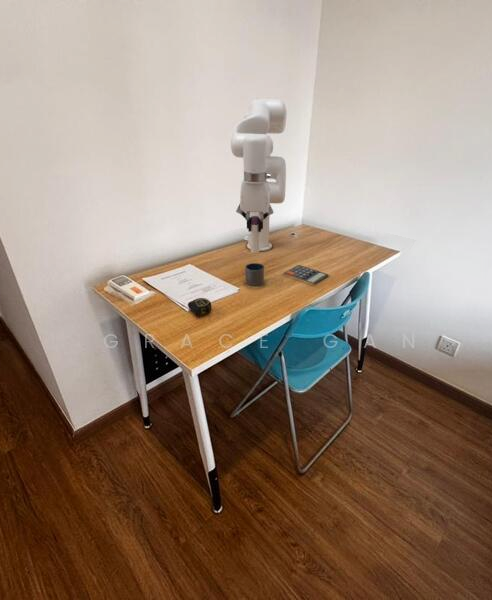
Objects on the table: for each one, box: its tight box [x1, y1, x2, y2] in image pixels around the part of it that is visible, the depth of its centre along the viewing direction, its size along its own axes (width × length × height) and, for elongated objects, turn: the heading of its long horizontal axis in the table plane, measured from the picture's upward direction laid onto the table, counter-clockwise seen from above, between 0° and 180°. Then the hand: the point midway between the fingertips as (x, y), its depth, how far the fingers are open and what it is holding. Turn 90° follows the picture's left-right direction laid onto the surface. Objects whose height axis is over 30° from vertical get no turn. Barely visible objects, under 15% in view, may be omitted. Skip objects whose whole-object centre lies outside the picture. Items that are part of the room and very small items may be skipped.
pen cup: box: [244, 262, 265, 288], centre depth 125 cm, size 7×7×8 cm
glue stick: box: [250, 216, 260, 254], centre depth 117 cm, size 3×3×13 cm
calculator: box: [283, 264, 329, 286], centre depth 135 cm, size 12×1×15 cm
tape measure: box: [187, 297, 212, 317], centre depth 107 cm, size 7×7×4 cm
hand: (254, 230), depth 116 cm, fingers closed on glue stick, 3 cm apart
